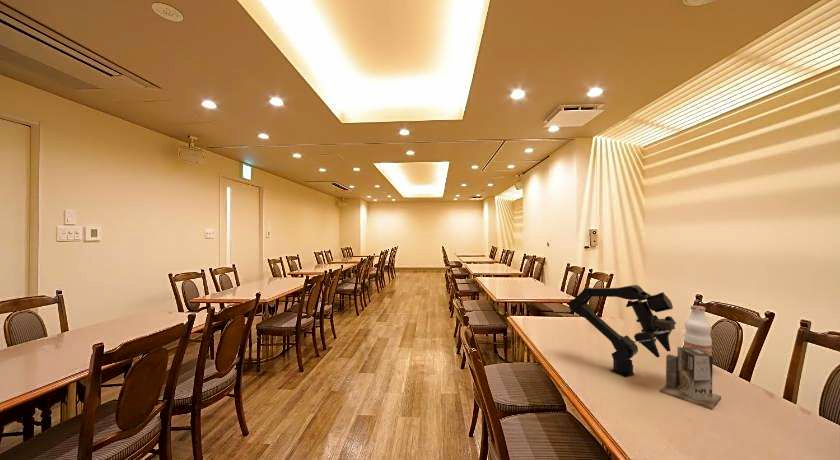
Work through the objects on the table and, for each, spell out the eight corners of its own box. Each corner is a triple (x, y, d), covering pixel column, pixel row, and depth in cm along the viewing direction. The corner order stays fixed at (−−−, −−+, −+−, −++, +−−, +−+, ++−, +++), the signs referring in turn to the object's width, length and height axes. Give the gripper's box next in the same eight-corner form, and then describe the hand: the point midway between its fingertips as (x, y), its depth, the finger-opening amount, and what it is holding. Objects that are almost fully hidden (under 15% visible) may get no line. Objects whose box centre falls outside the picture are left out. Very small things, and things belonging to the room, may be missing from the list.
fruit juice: (679, 366, 145) (680, 305, 145) (690, 363, 149) (690, 303, 149) (705, 375, 137) (705, 310, 137) (715, 371, 141) (716, 308, 141)
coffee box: (713, 401, 114) (713, 356, 114) (693, 400, 115) (694, 355, 115) (694, 389, 123) (694, 347, 123) (676, 387, 124) (676, 346, 124)
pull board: (659, 391, 122) (660, 358, 122) (671, 382, 130) (671, 351, 130) (711, 409, 110) (712, 372, 110) (721, 398, 118) (721, 363, 118)
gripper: (653, 315, 121) (675, 358, 116) (675, 306, 131) (696, 345, 125) (625, 321, 130) (644, 361, 125) (648, 312, 139) (666, 349, 134)
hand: (663, 354), depth 127 cm, fingers open, 9 cm apart
